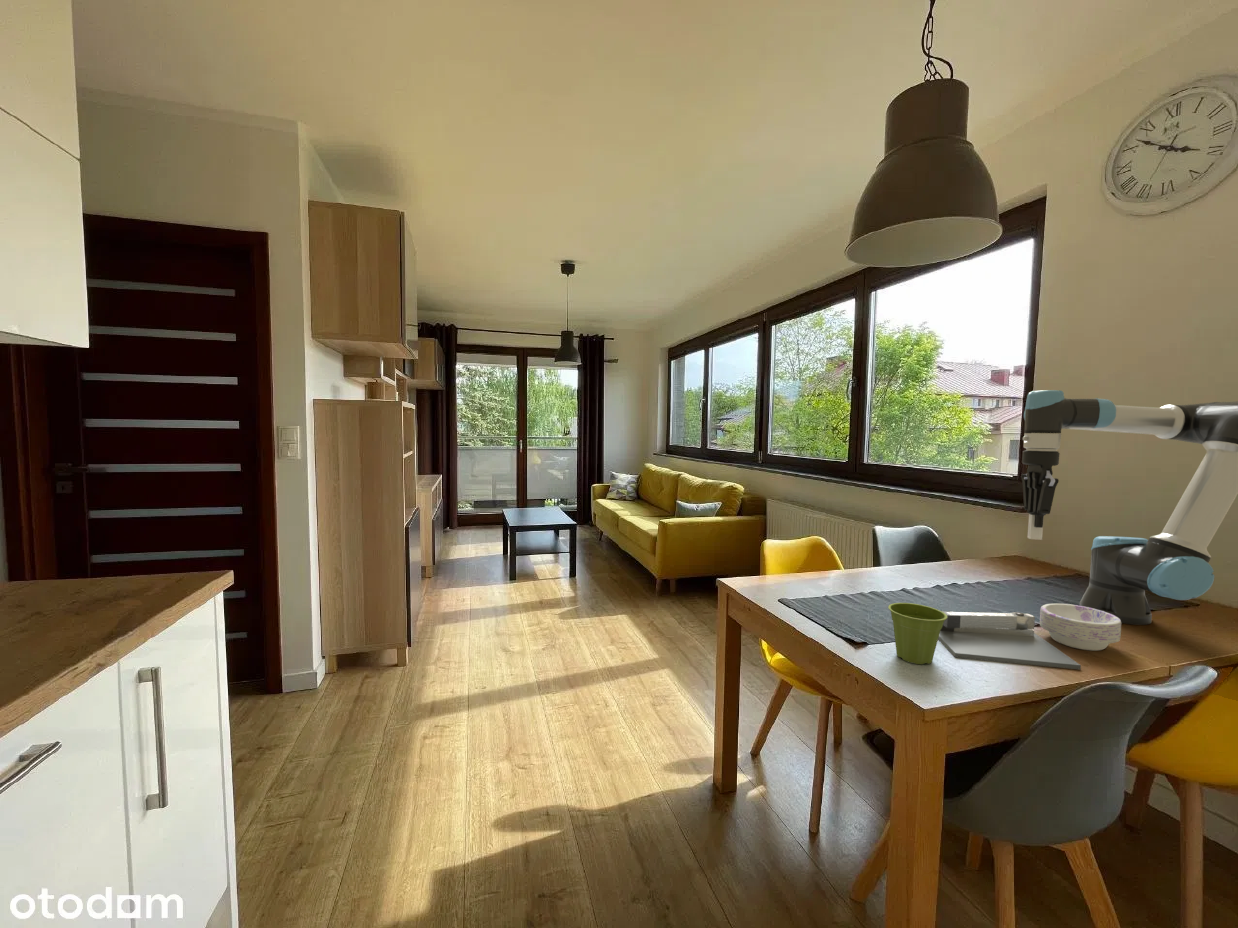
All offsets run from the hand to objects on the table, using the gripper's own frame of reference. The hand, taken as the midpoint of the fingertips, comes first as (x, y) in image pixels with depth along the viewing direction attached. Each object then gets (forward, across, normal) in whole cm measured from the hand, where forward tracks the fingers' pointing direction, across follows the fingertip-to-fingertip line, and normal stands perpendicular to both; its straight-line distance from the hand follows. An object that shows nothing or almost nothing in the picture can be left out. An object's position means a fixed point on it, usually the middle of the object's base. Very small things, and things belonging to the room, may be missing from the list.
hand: (1034, 538), depth 139 cm
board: (+24, +14, -14) cm, 32 cm away
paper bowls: (+25, +8, +7) cm, 27 cm away
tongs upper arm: (+22, +10, -14) cm, 27 cm away
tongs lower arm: (+23, +9, -14) cm, 29 cm away
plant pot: (+25, +28, -36) cm, 52 cm away
